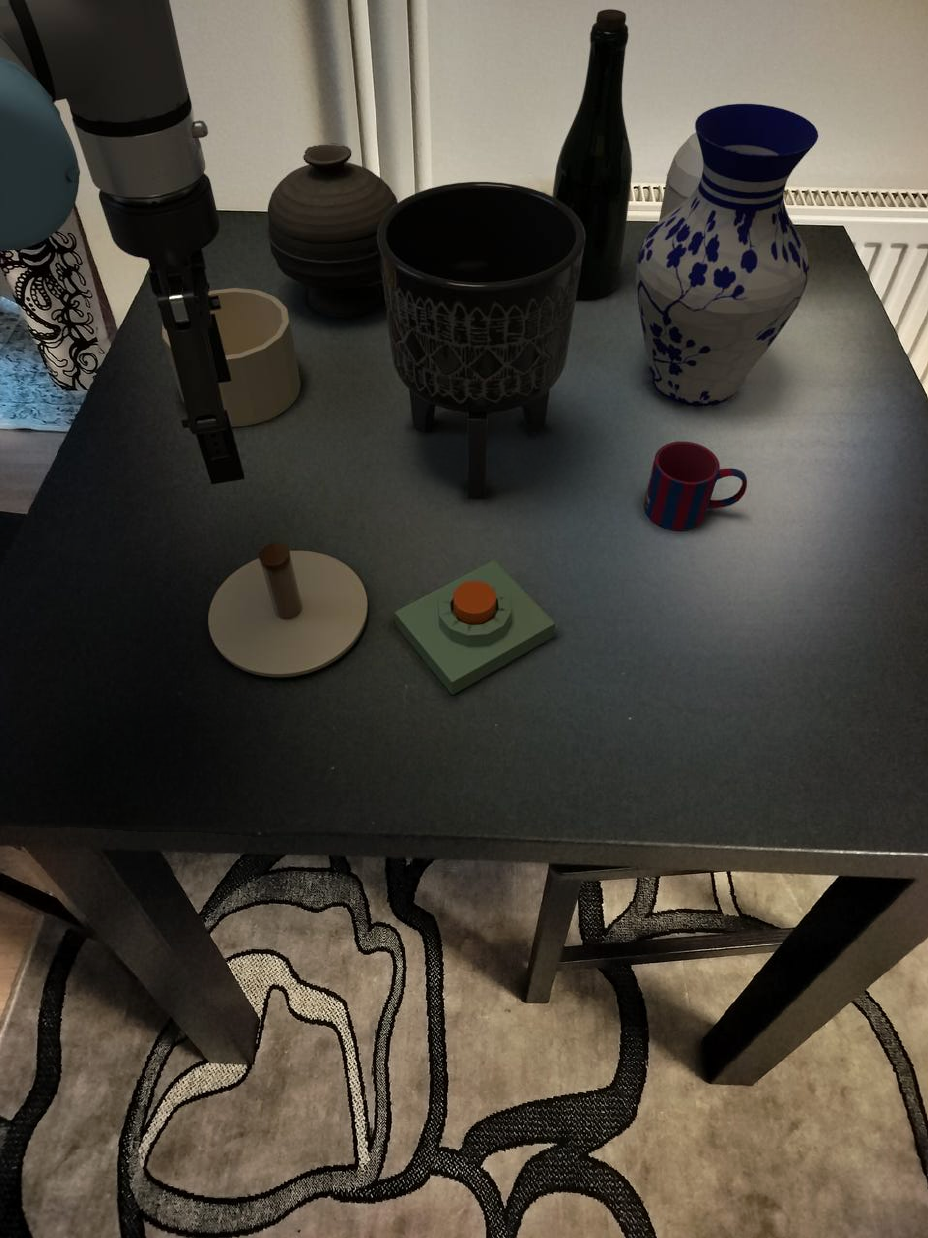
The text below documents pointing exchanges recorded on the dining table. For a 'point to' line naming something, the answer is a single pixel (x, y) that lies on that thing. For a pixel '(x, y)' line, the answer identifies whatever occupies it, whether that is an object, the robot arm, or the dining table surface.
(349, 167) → the pot
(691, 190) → the container
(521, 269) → the planter
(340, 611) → the lid
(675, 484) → the cup
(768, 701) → the dining table surface
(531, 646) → the block
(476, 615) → the button
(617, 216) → the wine bottle
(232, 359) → the canister
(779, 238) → the vase
